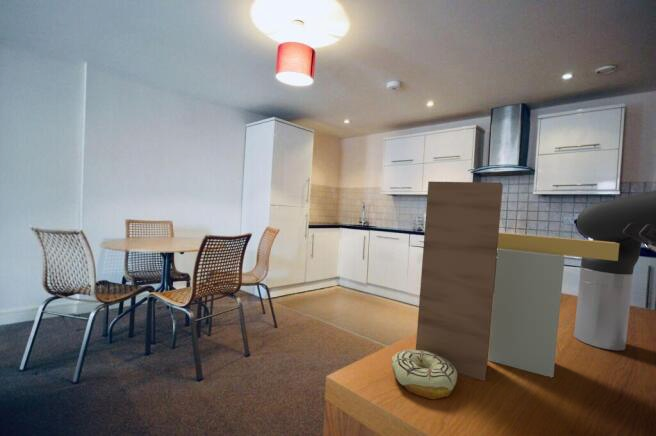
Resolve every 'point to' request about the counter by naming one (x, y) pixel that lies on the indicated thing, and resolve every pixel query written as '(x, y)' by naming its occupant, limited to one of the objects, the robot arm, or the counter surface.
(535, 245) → the ochre bar
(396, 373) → the decorated donut
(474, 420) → the counter surface
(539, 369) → the grey-green block
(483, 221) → the walnut pillar
